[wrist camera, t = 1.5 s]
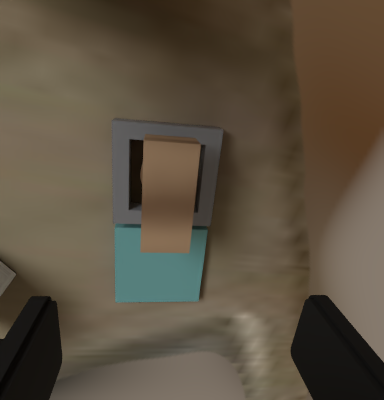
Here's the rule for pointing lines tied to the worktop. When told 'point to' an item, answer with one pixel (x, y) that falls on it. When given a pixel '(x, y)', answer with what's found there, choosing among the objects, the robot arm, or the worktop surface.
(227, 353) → the worktop surface
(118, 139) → the socket
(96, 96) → the worktop surface
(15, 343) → the robot arm
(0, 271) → the small box
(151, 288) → the tile
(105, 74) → the worktop surface
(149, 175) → the t-key
